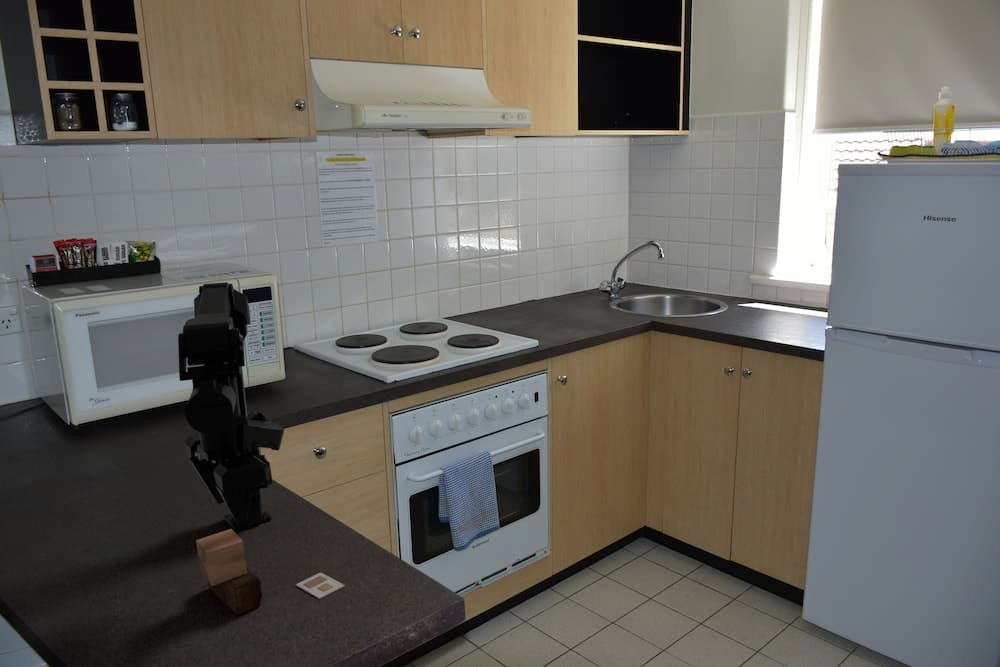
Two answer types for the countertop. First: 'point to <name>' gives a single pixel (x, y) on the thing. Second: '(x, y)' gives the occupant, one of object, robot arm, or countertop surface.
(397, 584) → the countertop surface
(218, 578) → the top block
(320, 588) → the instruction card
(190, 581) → the countertop surface
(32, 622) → the countertop surface
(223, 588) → the brick
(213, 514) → the countertop surface
